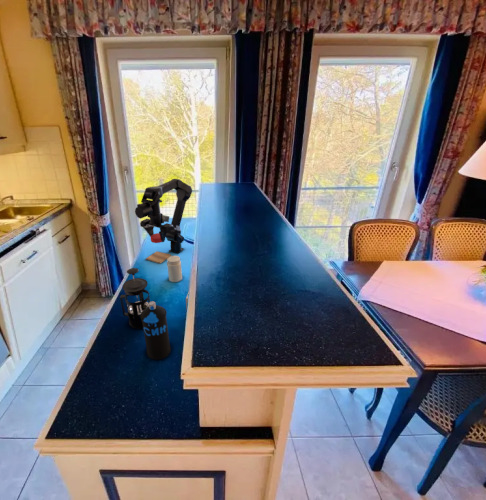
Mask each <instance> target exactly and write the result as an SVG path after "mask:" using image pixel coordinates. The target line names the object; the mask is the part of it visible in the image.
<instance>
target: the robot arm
mask: <svg viewBox="0 0 486 500" xmlns="http://www.w3.org/2000/svg"><path fill="white" fill-rule="evenodd" d="M173 190H175V191H176V192H175V195H176V198H177V199H176V204H175V207H174V211H173V214H172V219H171V222H170V216H169V215H165V214H163V213H162V212H161V204H160V203H163V200H162V199H161V198H163V195H164V194H167V193H169V192H170V191H173ZM192 193H193V188H192V186H191V185H189V184H187V183H185V182H184V181H183V180H181V179H179V178H172V179H170V180H168V181H166V182H164V183H161V184H160V185H158V186H157V185H155V186H148V187H146V188H145V189H144V192H143V194H142V198H141V201H140V202H141V203H138V204H136V207H135V208H134V209H135V210H134V213H135V216H136V218H138V219H139V220H140V219H143V220H140V222H139V226H140V227H141V228H142V229H143V230H145V232H146V233H147V234H148V236H149V237H150V238H151V235H153V234H155V232H154V228H158V229H159V231H158V233H159V234H160V237H161V240H162V242H161V243H164V242H165V240H167V241H168V242H169V243H170V245H169V246H170V249H169V250H168V253H169V252H170V253H174V254H180V253H181V252H183V250H185V249H184V248H183V247H182V243H184V240H185V236H184V235H182V229H181V222H182V219H183V214H184V211H185V206H186V204H187V201H188V200H190V199H191V196H192ZM146 217H147V218H146ZM144 218H145V219H144Z"/></svg>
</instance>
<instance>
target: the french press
mask: <svg viewBox="0 0 486 500" xmlns="http://www.w3.org/2000/svg"><path fill="white" fill-rule="evenodd" d="M139 271H140V270H139V268H137V267H131V268H128V269H127V270H126V274H128V275H131V276H132V278H131V279H128V280H127V281H125V282H124V283H123V285H122V289H123V291H124V294H121V295H120V296H119V301H120V306H121V311H122V315H123V317H127V318H128V324H129V326H130V327H131V328H132V329H135V330H142V329H143V324H142V320H140V315H141V313H142V311H143V310H144V309H146V308H147V307H149V302H151V297H150V296H151V295H150V292H149V291H148V290H147V289H146V288H147V287H148V284H149V283H148V281H147V279H145V278H141V277H136V278H135V274H137V273H139ZM144 293H145V294H147V295H148V296H147V297H146V298H145V297H144ZM129 296H130V297H135V296H136V301H135V302H132V301H129V300H128V297H129ZM124 302H125V303H124ZM125 304H126V309H125ZM126 310H127V312H126Z"/></svg>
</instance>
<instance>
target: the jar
mask: <svg viewBox="0 0 486 500" xmlns="http://www.w3.org/2000/svg"><path fill="white" fill-rule="evenodd" d="M166 267H167V276H168V281H169V282H172V283H179V282H181V281H182V280H183V273H182V272H183V269H182V261H181V257H180V256H178V255H171V256H170V257H168V258H167V259H166Z"/></svg>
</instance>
